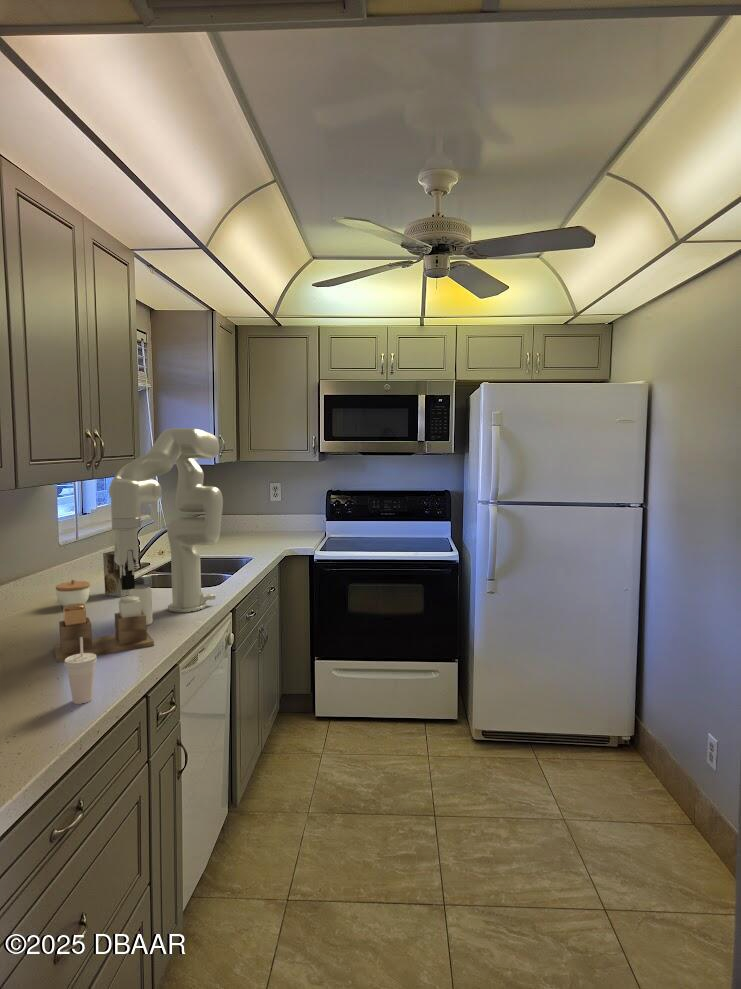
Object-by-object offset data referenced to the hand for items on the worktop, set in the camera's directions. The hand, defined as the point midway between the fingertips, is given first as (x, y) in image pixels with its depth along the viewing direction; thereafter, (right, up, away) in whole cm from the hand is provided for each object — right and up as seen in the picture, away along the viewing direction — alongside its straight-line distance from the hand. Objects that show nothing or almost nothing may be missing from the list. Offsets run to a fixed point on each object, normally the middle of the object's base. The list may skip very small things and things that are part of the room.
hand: (128, 588), depth 165 cm
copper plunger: (-12, -11, -6) cm, 17 cm away
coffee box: (-27, -12, +57) cm, 64 cm away
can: (-4, -14, +19) cm, 24 cm away
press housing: (-6, -16, -2) cm, 17 cm away
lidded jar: (-36, -13, +41) cm, 56 cm away
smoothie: (+5, -19, -36) cm, 41 cm away
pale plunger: (0, -10, +1) cm, 11 cm away
